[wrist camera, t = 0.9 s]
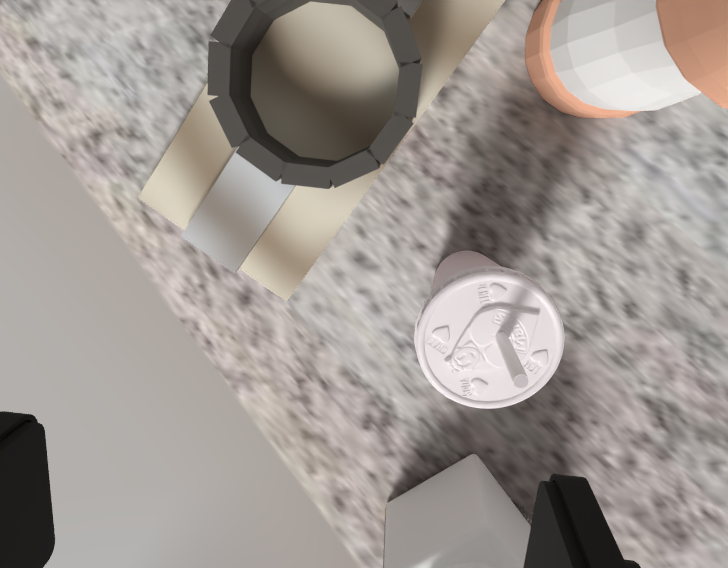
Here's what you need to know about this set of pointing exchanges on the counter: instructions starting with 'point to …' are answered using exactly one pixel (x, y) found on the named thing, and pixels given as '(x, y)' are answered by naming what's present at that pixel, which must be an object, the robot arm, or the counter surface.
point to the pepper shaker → (627, 54)
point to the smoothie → (487, 333)
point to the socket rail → (303, 122)
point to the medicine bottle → (455, 522)
